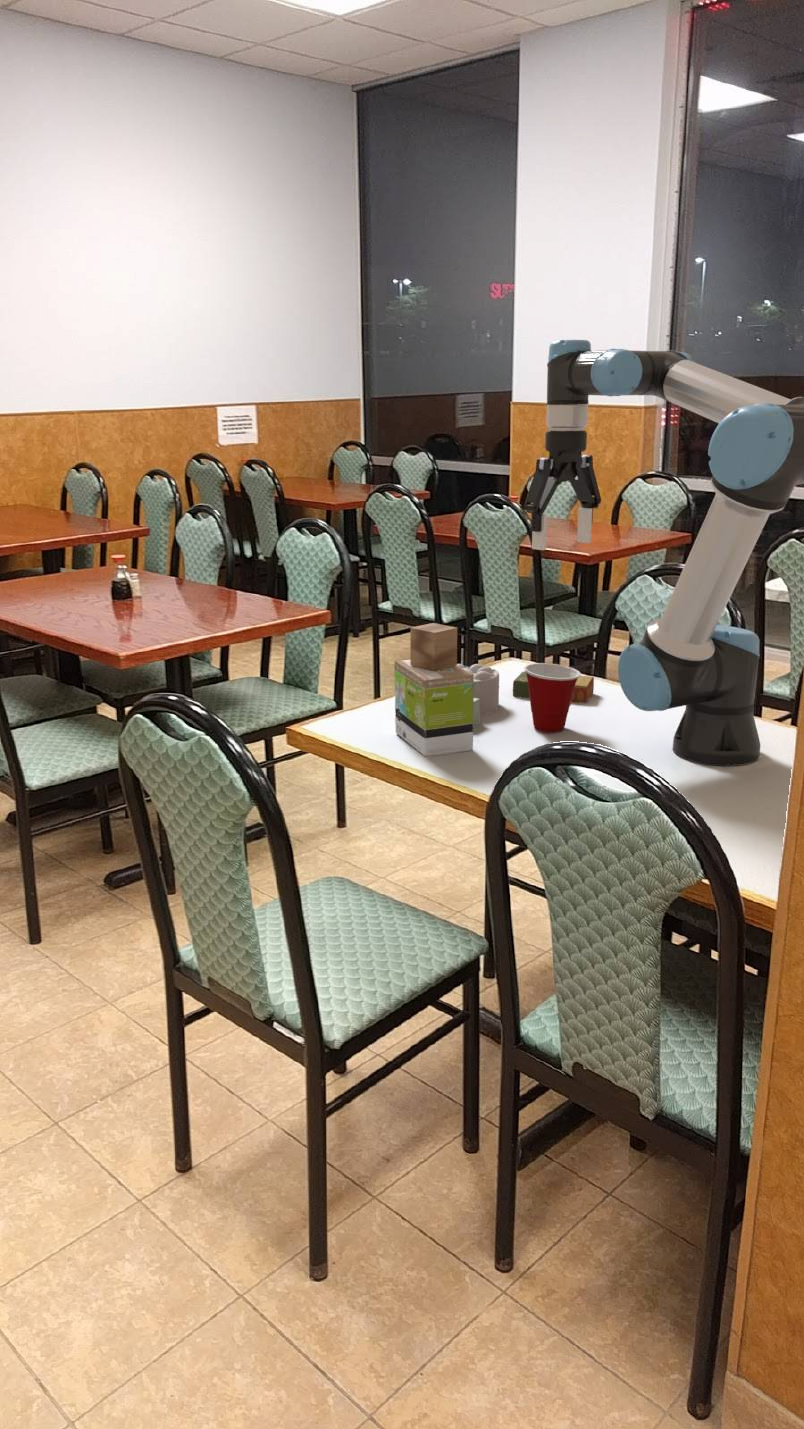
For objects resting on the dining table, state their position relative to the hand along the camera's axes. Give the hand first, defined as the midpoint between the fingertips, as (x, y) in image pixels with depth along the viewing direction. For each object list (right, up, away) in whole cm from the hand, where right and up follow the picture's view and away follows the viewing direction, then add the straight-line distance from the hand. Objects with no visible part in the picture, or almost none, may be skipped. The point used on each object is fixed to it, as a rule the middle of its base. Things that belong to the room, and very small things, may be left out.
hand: (561, 546), depth 204 cm
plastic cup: (-1, -35, +6) cm, 35 cm away
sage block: (-18, -34, +9) cm, 39 cm away
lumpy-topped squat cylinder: (-16, -31, +20) cm, 40 cm away
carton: (+2, -28, +29) cm, 41 cm away
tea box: (-24, -37, -2) cm, 44 cm away
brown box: (-24, -23, -6) cm, 34 cm away
